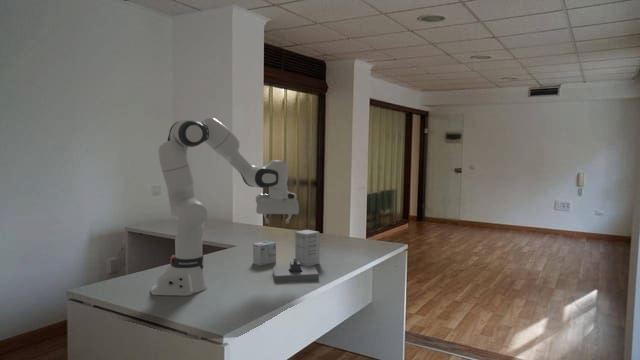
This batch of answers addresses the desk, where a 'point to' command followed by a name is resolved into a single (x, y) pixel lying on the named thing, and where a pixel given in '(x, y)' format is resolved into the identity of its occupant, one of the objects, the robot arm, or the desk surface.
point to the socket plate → (295, 274)
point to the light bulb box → (264, 253)
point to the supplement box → (307, 247)
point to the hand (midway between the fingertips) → (277, 223)
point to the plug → (295, 266)
